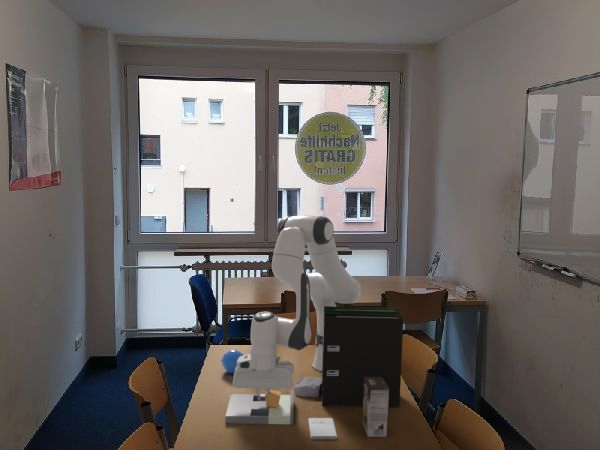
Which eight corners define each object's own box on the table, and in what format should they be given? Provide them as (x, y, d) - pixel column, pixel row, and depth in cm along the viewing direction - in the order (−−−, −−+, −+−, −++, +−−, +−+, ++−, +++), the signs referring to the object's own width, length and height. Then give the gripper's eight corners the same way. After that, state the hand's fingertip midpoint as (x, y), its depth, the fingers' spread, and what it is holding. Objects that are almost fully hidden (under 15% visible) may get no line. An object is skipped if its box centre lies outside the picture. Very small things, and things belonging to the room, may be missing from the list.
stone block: (294, 400, 205) (320, 398, 204) (291, 388, 205) (318, 385, 203) (299, 389, 217) (325, 386, 215) (297, 376, 217) (323, 374, 215)
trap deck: (293, 401, 200) (293, 389, 199) (293, 424, 183) (293, 411, 182) (231, 400, 200) (231, 388, 199) (225, 423, 183) (225, 410, 182)
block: (277, 402, 193) (280, 392, 192) (277, 408, 189) (280, 397, 188) (266, 400, 193) (269, 389, 192) (265, 405, 189) (268, 394, 188)
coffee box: (361, 423, 185) (363, 376, 183) (380, 423, 185) (382, 376, 183) (367, 437, 176) (368, 387, 174) (387, 436, 176) (389, 387, 174)
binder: (394, 391, 210) (397, 308, 207) (400, 409, 196) (403, 319, 192) (321, 389, 211) (323, 306, 208) (321, 406, 197) (324, 317, 193)
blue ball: (247, 366, 233) (247, 344, 231) (245, 378, 221) (245, 354, 219) (223, 366, 232) (223, 344, 231) (219, 377, 220) (219, 354, 219)
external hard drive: (310, 441, 174) (308, 422, 186) (337, 440, 174) (332, 422, 186) (310, 436, 174) (308, 417, 186) (337, 435, 174) (333, 417, 186)
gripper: (294, 358, 192) (293, 397, 194) (234, 356, 192) (234, 395, 194) (294, 364, 186) (293, 404, 188) (232, 363, 186) (231, 403, 188)
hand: (262, 400), depth 191 cm, fingers closed
